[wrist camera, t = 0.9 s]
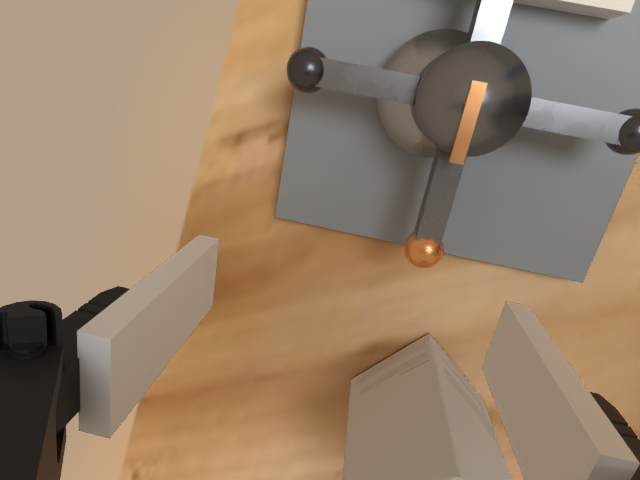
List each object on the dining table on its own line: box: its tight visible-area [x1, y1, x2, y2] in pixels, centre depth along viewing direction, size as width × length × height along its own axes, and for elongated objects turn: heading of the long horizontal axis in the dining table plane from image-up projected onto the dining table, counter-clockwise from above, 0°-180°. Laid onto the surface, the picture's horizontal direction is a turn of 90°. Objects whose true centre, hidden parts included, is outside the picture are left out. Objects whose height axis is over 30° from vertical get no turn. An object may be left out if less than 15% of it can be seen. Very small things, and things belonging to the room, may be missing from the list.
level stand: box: [275, 0, 640, 283], centre depth 29 cm, size 24×21×4 cm
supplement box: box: [343, 334, 511, 480], centre depth 32 cm, size 9×9×15 cm
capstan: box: [287, 0, 640, 268], centre depth 26 cm, size 22×22×6 cm
